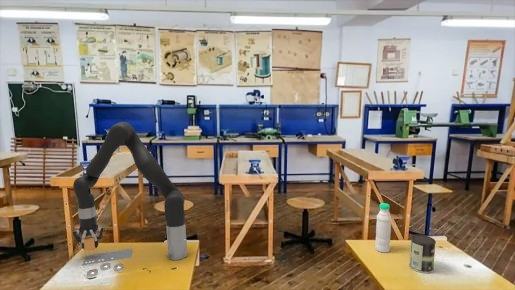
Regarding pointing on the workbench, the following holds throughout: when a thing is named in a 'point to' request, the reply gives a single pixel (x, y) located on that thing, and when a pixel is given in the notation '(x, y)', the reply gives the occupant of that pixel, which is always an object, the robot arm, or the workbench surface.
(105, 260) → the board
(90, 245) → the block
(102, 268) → the steel cylinder
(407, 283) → the workbench surface
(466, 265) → the workbench surface
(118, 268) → the steel cylinder
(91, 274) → the steel cylinder
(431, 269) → the coffee can
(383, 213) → the water bottle
